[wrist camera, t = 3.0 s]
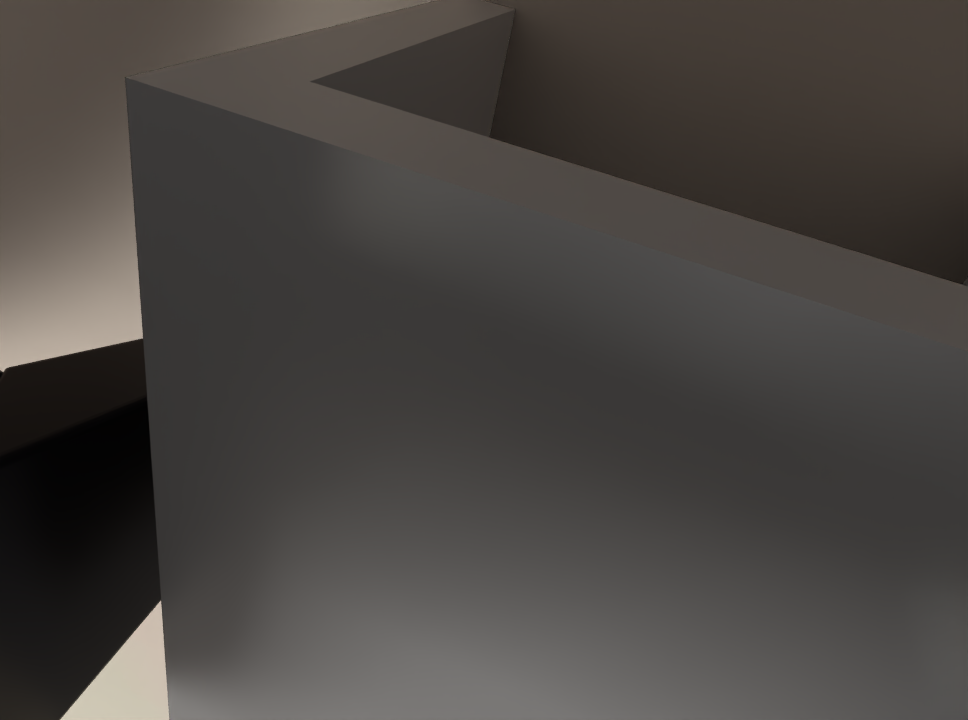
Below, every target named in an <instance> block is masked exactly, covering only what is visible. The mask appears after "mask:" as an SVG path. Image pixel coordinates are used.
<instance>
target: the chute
mask: <svg viewBox="0 0 968 720" xmlns="http://www.w3.org/2000/svg"><path fill="white" fill-rule="evenodd" d="M514 14H515V9H513V8H509V7H506V6H502V5H498V4H495V3H491V2H488V1H484V0H437V1H433V2H429V3H425V4H421V5H417V6H413V7H409V8H405V9H401V10H397V11H393V12H389V13H384V14H380V15H376V16H372V17H368V18H364V19H360V20H356V21H352V22H348V23H344V24H340V25H336V26H332V27H328V28H323V29H319V30H315V31H311V32H307V33H303V34H299V35H295V36H291V37H287V38H283V39H279V40H275V41H271V42H267V43H262V44H258V45H254V46H250V47H246V48H242V49H238V50H234V51H230V52H226V53H222V54H218V55H214V56H210V57H205V58H201V59H197V60H193V61H189V62H185V63H181V64H177V65H173V66H169V67H165V68H161V69H157V70H153V71H149V72H144V73H140V74H136V75H132V76H128V77H125V82H126V96H127V111H128V125H129V140H130V154H131V169H132V183H133V198H134V212H135V227H136V241H137V256H138V270H139V285H140V299H141V314H142V328H143V343H144V357H145V372H146V386H147V401H148V415H149V430H150V444H151V459H152V473H153V488H154V502H155V517H156V531H157V546H158V560H159V575H160V589H161V604H162V618H163V633H164V648H165V662H166V677H167V691H168V706H169V720H968V276H967V278H966V280H965V281H964V283H963V284H962V285H961V284H958V283H955V282H952V281H949V280H945V279H942V278H939V277H936V276H933V275H929V274H926V273H923V272H920V271H916V270H913V269H910V268H907V267H904V266H900V265H897V264H894V263H891V262H888V261H884V260H881V259H878V258H875V257H872V256H868V255H865V254H862V253H859V252H855V251H852V250H849V249H846V248H843V247H839V246H836V245H833V244H830V243H827V242H823V241H820V240H817V239H814V238H810V237H807V236H804V235H801V234H798V233H794V232H791V231H788V230H785V229H782V228H778V227H775V226H772V225H769V224H766V223H762V222H759V221H756V220H753V219H749V218H746V217H743V216H740V215H737V214H733V213H730V212H727V211H724V210H721V209H717V208H714V207H711V206H708V205H705V204H701V203H698V202H695V201H692V200H688V199H685V198H682V197H679V196H676V195H672V194H669V193H666V192H663V191H660V190H656V189H653V188H650V187H647V186H643V185H640V184H637V183H634V182H631V181H627V180H624V179H621V178H618V177H615V176H611V175H608V174H605V173H602V172H599V171H595V170H592V169H589V168H586V167H582V166H579V165H576V164H573V163H570V162H566V161H563V160H560V159H557V158H554V157H550V156H547V155H544V154H541V153H537V152H534V151H531V150H528V149H525V148H521V147H518V146H515V145H512V144H509V143H505V142H502V141H499V140H496V139H493V138H489V137H490V132H491V127H492V122H493V117H494V112H495V107H496V103H497V98H498V93H499V88H500V83H501V78H502V73H503V68H504V63H505V58H506V54H507V49H508V44H509V39H510V34H511V29H512V24H513V19H514Z"/></svg>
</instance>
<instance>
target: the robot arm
mask: <svg viewBox="0 0 968 720" xmlns="http://www.w3.org/2000/svg"><path fill="white" fill-rule="evenodd" d="M160 601H161V589H160V575H159V560H158V546H157V531H156V517H155V502H154V488H153V473H152V459H151V444H150V430H149V415H148V401H147V386H146V372H145V357H144V343H143V339H138V340H133V341H129V342H124V343H119V344H115V345H110V346H106V347H101V348H96V349H92V350H87V351H82V352H78V353H73V354H69V355H64V356H59V357H55V358H50V359H45V360H41V361H36V362H32V363H27V364H22V365H18V366H13V367H9V368H6V369H5V371H4V372H2V371H1V370H0V720H60V719H61V718H62V717H63V716H64V714H65V713H66V712H67V711H68V710H69V708H70V707H71V706H72V705H73V704H74V703H75V701H76V700H77V699H78V698H79V697H80V695H81V694H82V693H83V692H84V691H85V690H86V688H87V687H88V686H89V685H90V684H91V682H92V681H93V680H94V679H95V678H96V676H97V675H98V674H99V673H100V672H101V671H102V669H103V668H104V667H105V666H106V665H107V663H108V662H109V661H110V660H111V659H112V658H113V656H114V655H115V654H116V653H117V652H118V650H119V649H120V648H121V647H122V646H123V644H124V643H125V642H126V641H127V640H128V639H129V637H130V636H131V635H132V634H133V633H134V631H135V630H136V629H137V628H138V627H139V626H140V624H141V623H142V622H143V621H144V620H145V618H146V617H147V616H148V615H149V614H150V613H151V611H152V610H153V609H154V608H155V607H156V605H157V604H158V603H159V602H160Z"/></svg>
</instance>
